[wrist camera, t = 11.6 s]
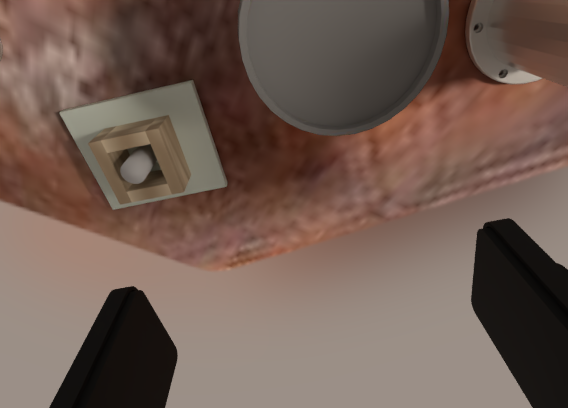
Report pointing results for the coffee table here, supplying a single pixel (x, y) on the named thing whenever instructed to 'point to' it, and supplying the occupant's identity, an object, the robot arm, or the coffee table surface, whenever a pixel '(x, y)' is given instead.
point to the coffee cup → (1, 49)
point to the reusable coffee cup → (340, 58)
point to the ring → (118, 139)
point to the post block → (142, 160)
